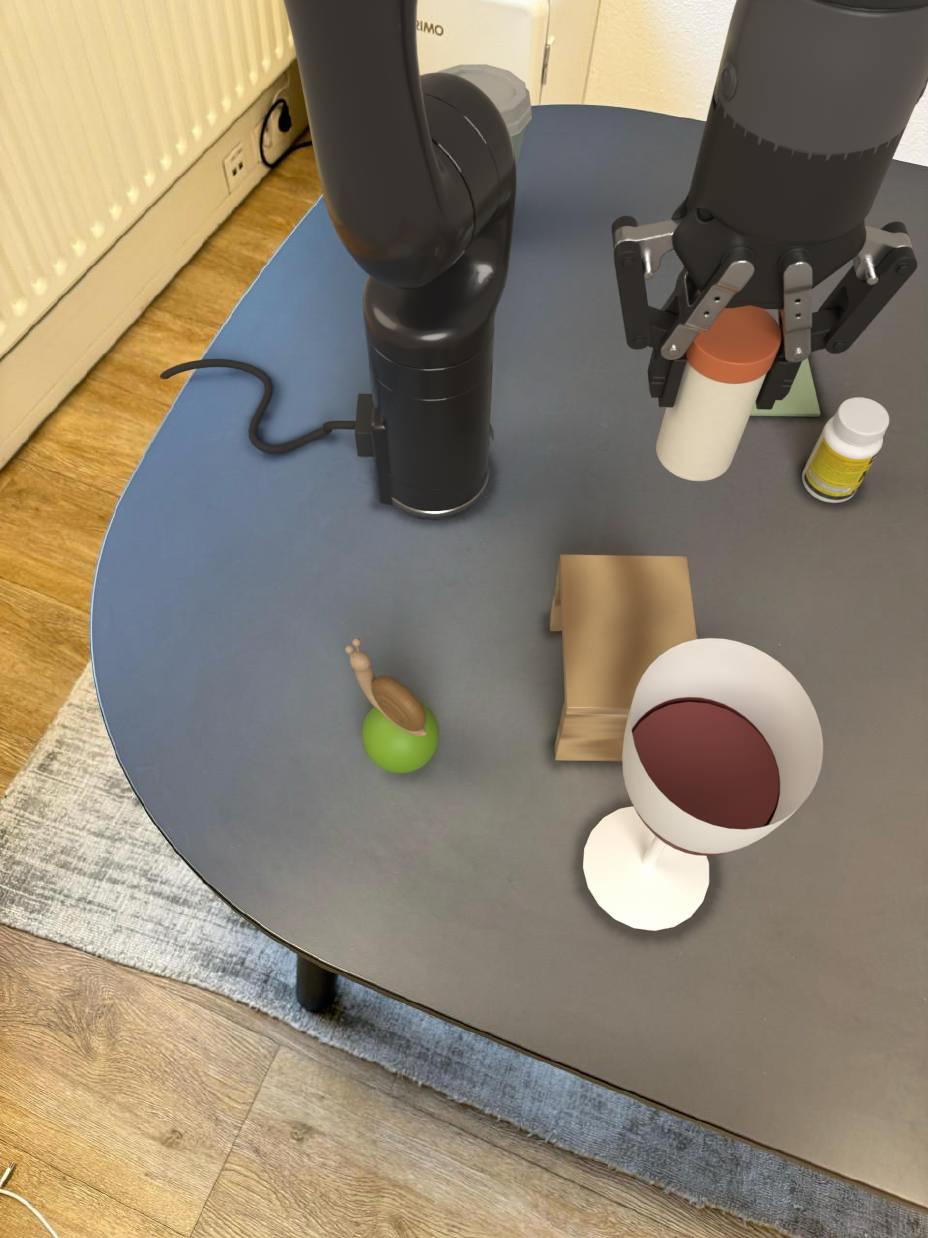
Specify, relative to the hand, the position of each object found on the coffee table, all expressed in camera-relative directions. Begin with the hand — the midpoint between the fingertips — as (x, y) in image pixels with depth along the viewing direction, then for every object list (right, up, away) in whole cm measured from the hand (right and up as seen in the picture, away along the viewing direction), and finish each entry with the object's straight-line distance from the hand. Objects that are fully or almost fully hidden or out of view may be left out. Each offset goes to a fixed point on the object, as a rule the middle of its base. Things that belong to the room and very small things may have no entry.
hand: (712, 395), depth 52 cm
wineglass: (-1, -29, +15) cm, 33 cm away
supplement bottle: (+18, 0, +32) cm, 37 cm away
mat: (+14, +10, +38) cm, 41 cm away
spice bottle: (0, -2, +4) cm, 5 cm away
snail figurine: (-18, -21, +19) cm, 34 cm away
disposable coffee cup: (-12, +29, +48) cm, 58 cm away
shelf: (-2, -17, +21) cm, 27 cm away
